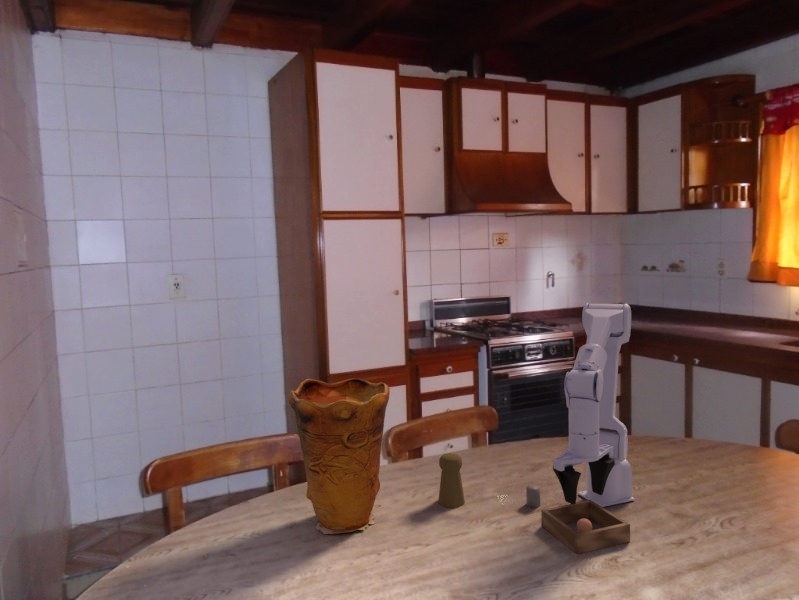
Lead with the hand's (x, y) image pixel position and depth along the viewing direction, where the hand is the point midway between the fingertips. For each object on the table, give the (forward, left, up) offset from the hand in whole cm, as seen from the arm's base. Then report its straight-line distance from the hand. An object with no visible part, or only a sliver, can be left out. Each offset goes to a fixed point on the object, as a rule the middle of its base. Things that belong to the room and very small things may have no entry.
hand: (584, 497), depth 117 cm
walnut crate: (0, 0, -7) cm, 7 cm away
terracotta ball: (0, 0, -7) cm, 7 cm away
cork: (+18, -24, -8) cm, 31 cm away
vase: (+43, -23, -8) cm, 49 cm away
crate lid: (+2, -15, -8) cm, 18 cm away
